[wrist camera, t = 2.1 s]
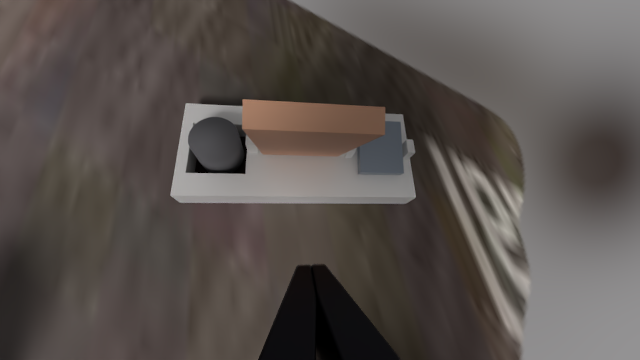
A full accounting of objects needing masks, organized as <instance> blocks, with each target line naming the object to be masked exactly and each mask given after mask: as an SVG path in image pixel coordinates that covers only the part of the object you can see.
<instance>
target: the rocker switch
mask: <svg viewBox="0 0 640 360" xmlns="http://www.w3.org/2000/svg"><path fill="white" fill-rule="evenodd" d="M357 160H358V174H365V175H401V174H403V173H404V166H403V151H402V135H401V122H394V121H385V135H383V136H381V137H379V138H377V139H375V140H372V141H370V142H368V143H366V144H364V145H361V146H359V147H357Z"/></svg>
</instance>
